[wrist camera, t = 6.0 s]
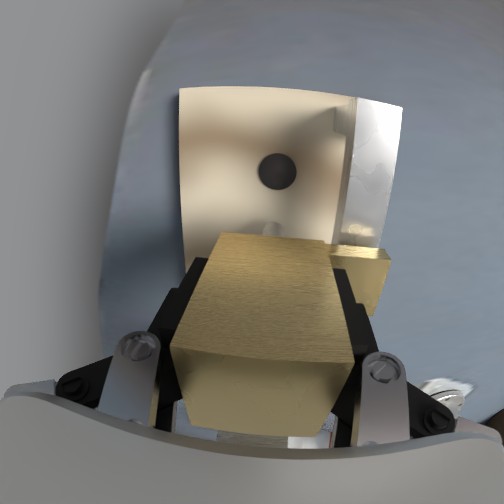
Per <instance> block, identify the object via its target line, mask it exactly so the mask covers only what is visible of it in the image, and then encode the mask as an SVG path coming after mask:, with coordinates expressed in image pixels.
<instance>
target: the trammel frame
mask: <svg viewBox="0 0 504 504" xmlns="http://www.w3.org/2000/svg"><path fill="white" fill-rule="evenodd" d="M401 115H402V108H401V107H397V106H393V105H389V104H385V103H381V102H376V101H372V100H367V99H362V98H354V99H349V105H341V106H335V109H334V122H333V131H334V132H337V133H340V134H343V135H345V136H346V142H345V152H344V160H343V169H342V176H341V184H340V191H339V198H338V205H337V211H336V217H335V223H334V229H333V235H332V241H331V244H337V245H347V246H358V247H368V248H378V247H379V243H380V239H381V235H382V231H383V227H384V222H385V218H386V213H387V209H388V204H389V199H390V194H391V188H392V183H393V177H394V171H395V165H396V158H397V151H398V143H399V135H400V126H401ZM216 442H223V443H230V444H238V445H248V446H258V447H272V448H288V437H287V436H269V435H256V434H246V433H237V432H229V431H222V430H218V433H217V438H216Z"/></svg>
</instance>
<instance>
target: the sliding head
mask: <svg viewBox="0 0 504 504" xmlns="http://www.w3.org/2000/svg"><path fill="white" fill-rule="evenodd" d="M390 264H391V259H390V257H389V256H388V254H387V252H386V251H385V249H378V248H368V247H358V246H347V245H337V244H326V243H325V242H324V240H313V239H302V238H290V237H284V230H283V227H282V225H281V224H279V223H277V222H269V223H267V224H266V225H265V226H264V228H263V232H262V235H254V234H241V233H228V232H221V234H220V236H219V238H218V240H217V243H216V245H215V247H214V249H213V251H212V253H211V255H210V257H209V259H208V261H207V264H206V266H205V268H204V270H203V272H202V274H201V276H200V279H199V281H198V283H197V285H196V287H195V289H194V292H193V294H192V296H191V298H190V300H189V303H188V305H187V307H186V309H185V312H184V314H183V316H182V318H181V321H180V323H179V325H178V327H177V330H176V332H175V334H174V337H173V339H172V341H171V343H170V351H171V355H172V359H173V363H174V367H175V371H176V375H177V378H178V382H179V386H180V389H181V393H182V397H183V400H184V403H185V407H186V410H187V413H188V417H189V420H190V423H191V425H193V426H198V427H204V428H209V429H216V430H222V431H229V432H237V433H246V434H256V435H269V436H287V437H316V436H317V434H318V432H319V431H320V429H321V427H322V426H323V424H324V422H325V420H326V419H327V417H328V415H329V413H330V411H331V409H332V408H333V406H334V404H335V402H336V400H337V398H338V396H339V394H340V392H341V390H342V388H343V386H344V384H345V382H346V380H347V378H348V376H349V374H350V372H351V370H352V368H353V365H354V363H355V361H354V356H353V352H352V347H351V342H350V338H349V333H348V329H347V325H346V320H345V316H344V312H343V308H342V304H341V300H340V296H339V292H338V288H337V284H336V281H335V277H334V273H333V270H332V268H339V269H345V270H346V273H347V276H348V279H349V282H350V285H351V288H352V291H353V294H354V297H355V300H356V303H362V304H364V306H365V309H366V312H367V315H368V316H373V314H374V311H375V309H376V306H377V303H378V300H379V297H380V295H381V292H382V289H383V286H384V283H385V280H386V276H387V273H388V270H389V267H390Z"/></svg>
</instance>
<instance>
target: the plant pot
mask: <svg viewBox="0 0 504 504" xmlns="http://www.w3.org/2000/svg"><path fill="white" fill-rule="evenodd" d="M487 427H490V428H493V429H495V430H497V431H498V432H499V434H500V435H501V438H502V445H503V447H504V409H503V410H502V411H500V412H499V413H498V414H496V415H495V416H494V417H493V418H491V419H490V420H489V421H488V423H487Z"/></svg>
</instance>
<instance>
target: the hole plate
mask: <svg viewBox="0 0 504 504" xmlns="http://www.w3.org/2000/svg"><path fill="white" fill-rule="evenodd" d="M349 99H354V97H349V96H343V95H337V94H330V93H323V92H315V91H307V90H297V89H286V88H271V87H241V86H225V87H195V88H181V89H180V92H179V167H180V195H181V214H182V230H183V244H184V256H185V268H186V273H187V271H188V270H189V268H190V266H191V264H192V262H193V261H194V259H195V257H202V258H209V257H210V255H211V253H212V251H213V249H214V247H215V245H216V243H217V240H218V238H219V236H220V234H221V232H228V233H241V234H254V235H262V232H263V228H264V226H265V225H266V224H267V223H269V222H277V223H279V224H281V225H282V227H283V230H284V237H290V238H302V239H313V240H324V242H325V243H326V244H331V241H332V235H333V229H334V223H335V217H336V211H337V205H338V198H339V191H340V184H341V176H342V169H343V160H344V152H345V142H346V136H345V135H343V134H340V133H337V132H334V131H333V122H334V109H335V106H341V105H349Z"/></svg>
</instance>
